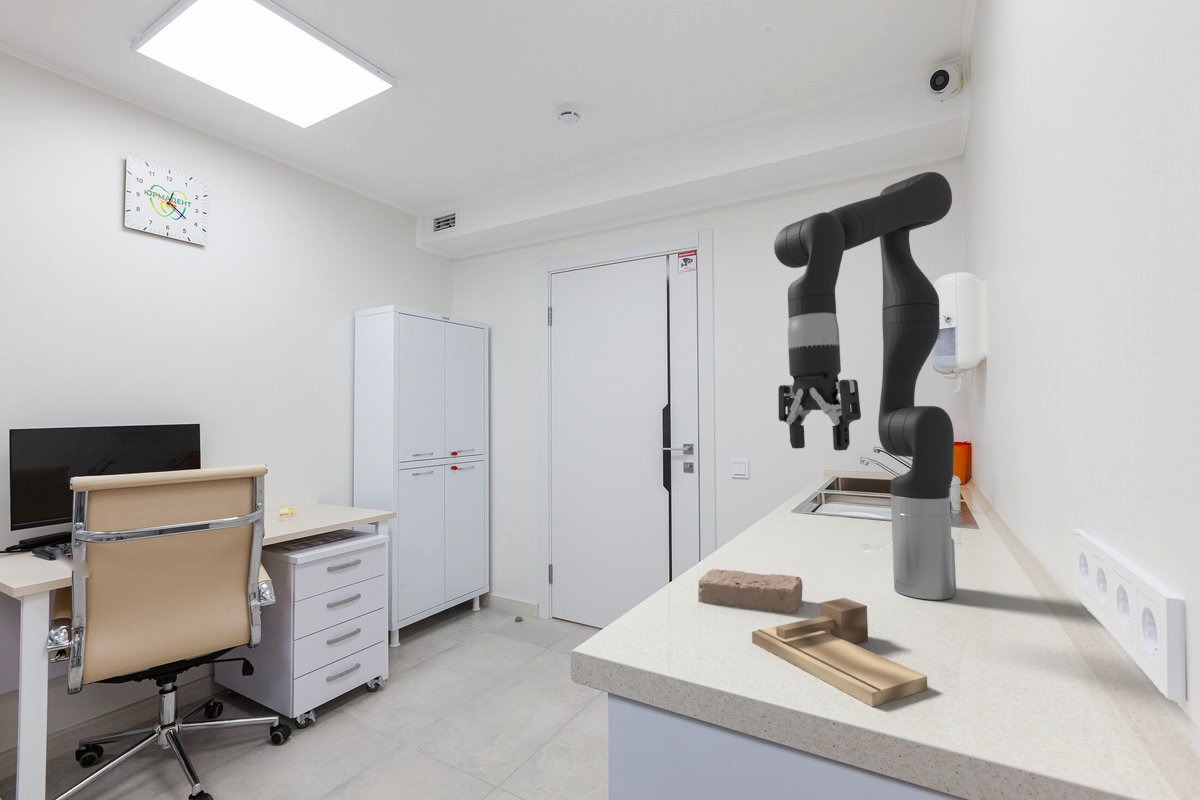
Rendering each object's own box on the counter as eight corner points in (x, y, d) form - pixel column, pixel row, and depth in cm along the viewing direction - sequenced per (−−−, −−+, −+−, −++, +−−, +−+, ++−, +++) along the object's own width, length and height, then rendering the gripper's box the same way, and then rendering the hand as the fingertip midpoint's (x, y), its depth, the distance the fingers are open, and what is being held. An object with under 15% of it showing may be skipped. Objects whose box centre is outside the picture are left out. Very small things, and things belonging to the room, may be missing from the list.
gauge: (850, 630, 84) (848, 596, 84) (873, 640, 80) (871, 604, 80) (770, 650, 78) (769, 613, 78) (792, 661, 74) (790, 622, 74)
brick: (696, 604, 98) (696, 576, 98) (710, 590, 105) (710, 564, 106) (796, 618, 90) (795, 589, 90) (803, 603, 98) (803, 575, 98)
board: (800, 631, 84) (800, 620, 84) (927, 689, 66) (927, 675, 66) (752, 642, 80) (751, 630, 80) (872, 706, 62) (871, 692, 62)
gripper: (869, 339, 84) (874, 449, 83) (797, 351, 96) (802, 446, 96) (832, 338, 80) (838, 452, 80) (763, 350, 93) (768, 449, 93)
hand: (818, 449), depth 88 cm, fingers open, 8 cm apart
